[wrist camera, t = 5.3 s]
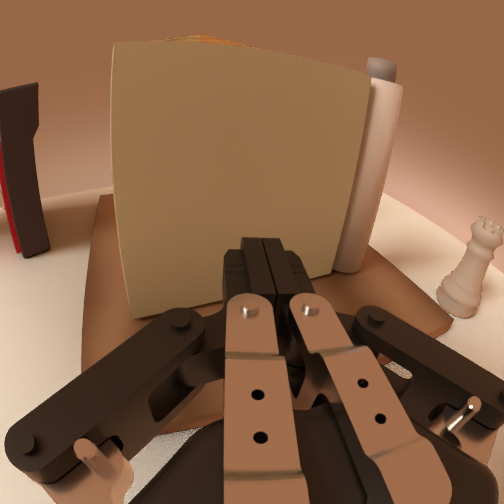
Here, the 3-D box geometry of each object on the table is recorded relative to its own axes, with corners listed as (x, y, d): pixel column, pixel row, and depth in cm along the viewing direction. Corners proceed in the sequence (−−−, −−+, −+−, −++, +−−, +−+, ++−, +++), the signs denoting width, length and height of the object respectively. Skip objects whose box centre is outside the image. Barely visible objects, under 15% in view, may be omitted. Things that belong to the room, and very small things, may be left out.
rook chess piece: (445, 284, 25) (476, 208, 21) (479, 309, 22) (516, 232, 18) (426, 298, 23) (461, 213, 19) (464, 327, 19) (508, 241, 15)
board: (92, 442, 10) (84, 431, 10) (101, 205, 32) (100, 195, 32) (447, 331, 19) (454, 319, 18) (286, 191, 41) (287, 183, 40)
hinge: (343, 248, 25) (380, 65, 17) (368, 268, 23) (415, 70, 15) (126, 291, 18) (115, 22, 10) (134, 326, 16) (118, 6, 8)
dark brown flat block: (11, 220, 27) (-4, 96, 20) (41, 210, 30) (30, 88, 22) (17, 263, 21) (-11, 92, 13) (57, 248, 24) (38, 81, 16)
